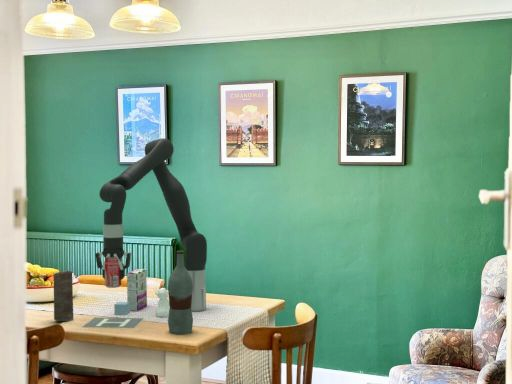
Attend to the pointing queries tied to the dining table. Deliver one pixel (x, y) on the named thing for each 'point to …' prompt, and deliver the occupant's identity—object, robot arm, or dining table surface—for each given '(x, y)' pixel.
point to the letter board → (114, 322)
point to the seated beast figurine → (162, 303)
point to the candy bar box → (137, 289)
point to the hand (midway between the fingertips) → (113, 279)
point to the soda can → (112, 272)
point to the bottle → (180, 298)
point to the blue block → (122, 308)
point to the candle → (63, 296)
